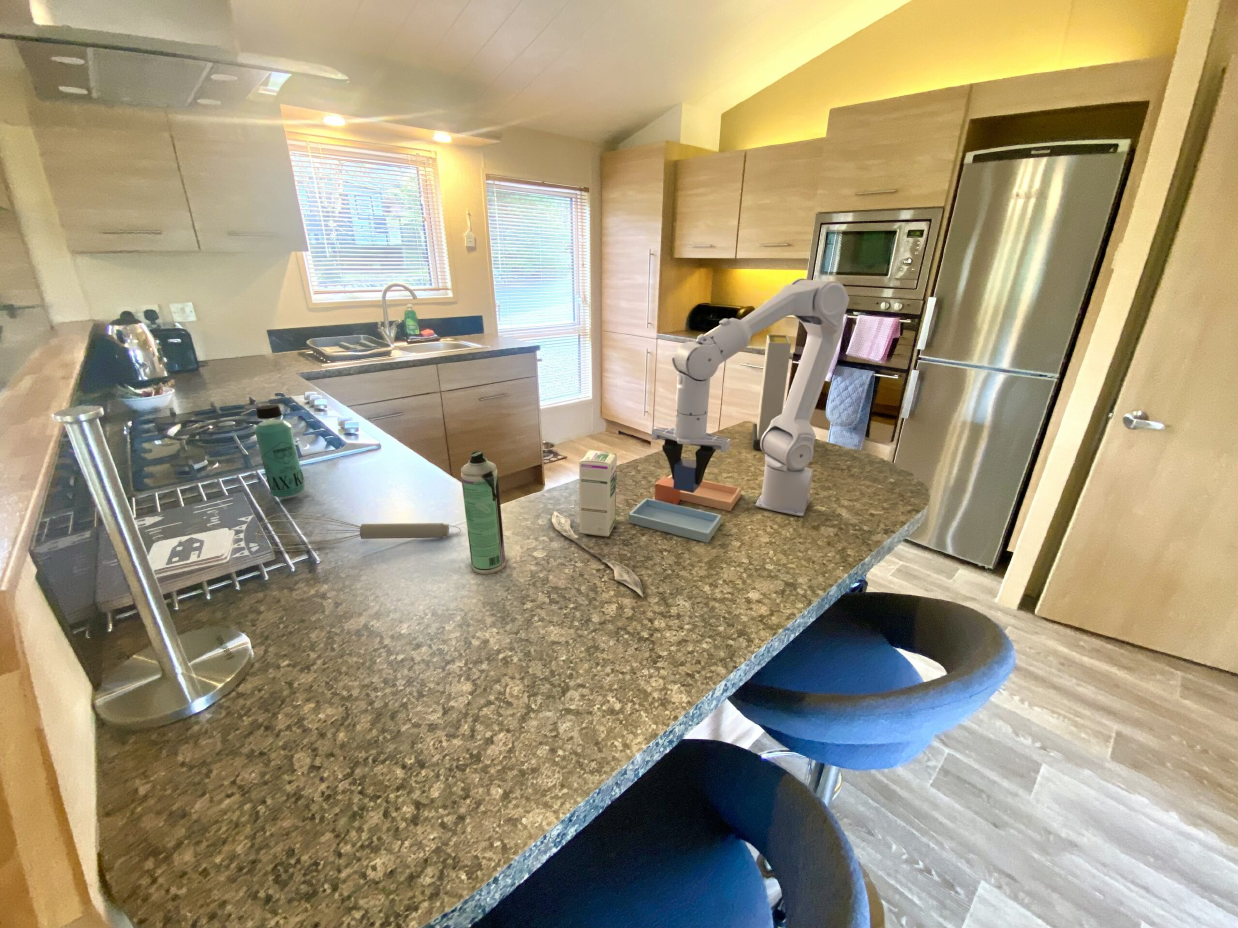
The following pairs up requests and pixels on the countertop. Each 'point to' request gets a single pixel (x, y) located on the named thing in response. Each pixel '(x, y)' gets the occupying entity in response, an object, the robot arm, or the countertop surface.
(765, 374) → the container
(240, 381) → the countertop surface
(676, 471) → the blue block
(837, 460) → the countertop surface
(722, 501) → the peach tray
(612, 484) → the syrup box
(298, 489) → the beverage bottle
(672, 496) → the terracotta block
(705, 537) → the blue tray
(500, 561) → the spray can
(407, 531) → the kitchen whisk
